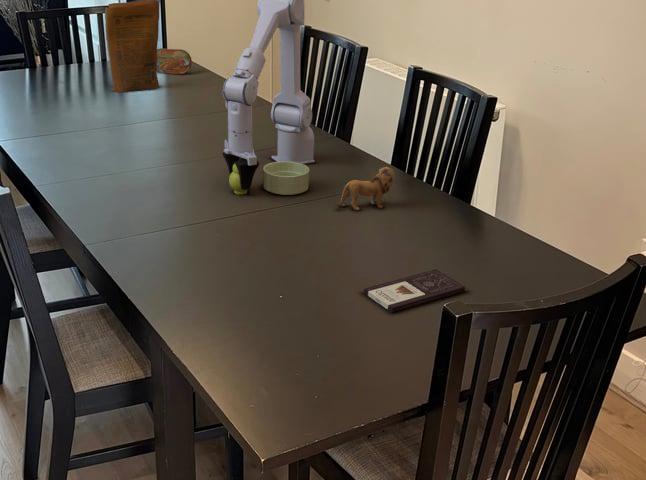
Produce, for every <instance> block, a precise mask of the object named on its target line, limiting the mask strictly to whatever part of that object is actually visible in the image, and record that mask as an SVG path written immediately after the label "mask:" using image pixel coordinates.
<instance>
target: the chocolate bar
mask: <svg viewBox="0 0 646 480" xmlns="http://www.w3.org/2000/svg"><path fill="white" fill-rule="evenodd" d="M465 291H466V286H465V285H463V284H461V283H460V282H458V281H456V280H454V279H453V278H451V277H449V276H448V275H446V274H445V273H443V272H441V271H439V270H438V269H431V270H428V271H424V272H420V273H417V274H412V275H410V276H405V277H402V278H398V279H395V280H391V281H387V282H383V283H379V284H376V285H372V286H369V287H364V289H363V294H365V295H366V296H368V297H369V298H371V299H372V300H373V301H375V302H376V303H378V304H379V305H381V306H382V307H383V308H385V309H386V310H388V311H389V312H390V313H395V312H399V311H402V310H406V309H409V308H412V307H416V306H419V305H423V304H425V303H430V302H433V301H436V300H439V299H443V298H447V297H450V296H453V295H456V294H461V293H464V292H465Z"/></svg>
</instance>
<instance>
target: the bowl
mask: <svg viewBox="0 0 646 480" xmlns="http://www.w3.org/2000/svg"><path fill="white" fill-rule="evenodd" d="M310 172H311V171H310V168H309V166H307V164H301V163H297V162H289V161H280V162H277V161H273V162H268V163H267V164H265V165H264V166H263V167H262V187H263V189H264V190H266V191H267V192H270V193H272V194H276V195H280V196H293V195H299V194H302V193H304V192H306V191H308V190H309V188H310Z"/></svg>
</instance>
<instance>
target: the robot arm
mask: <svg viewBox="0 0 646 480" xmlns="http://www.w3.org/2000/svg"><path fill="white" fill-rule="evenodd" d="M256 8H257V9H256V10H257V16H258V19H257V23H256V24H255V25H256V26H255V29H254V32H253V34H252V37H251V41H250V45H249V47H246V48H244V49H243V50H242V52H241V54H240V57H239V59H238V62H237V63H236V65H235V69H234V70H233V72H232V73H233V74H232V75H231V76H230V77H228V78H226V79H225V81H224V83H223V86H222V91H221V93H222V98H223V100H224V102H225V103H224V104H225V109H226V111H227V137H228V138H227V139H224V149H223V152H222V158H223V159H224V160H225V163H226V167H227V169H228V174H229V176H230V175H231V173H232V172H233V165H234V164H235V165H236V167H237V169H238V172H239V177H240V185H241V189H242V190H247V189H248V190H251V187H252V184H253V179H254V176H255V173H256V171H257V169H258V167H259V166H260V161H258V156H257V155H256V154H255V150H254V147H253V104H254V103H255V101H256V100H257V96H258V88H259V85H260V84H259V78H260V76H261V73H262V72H263V69H264V66H265V63H266V60H267V59H266V57H265V55H264V53H265V52H266V49H267V48H268V45H269V44H270V42H271V41H272V38H273V37H274V34H275V33H276V30H278V29H279V55H280V57H279V60H280V61H279V62H280V64H279V65H280V67H279V68H280V91H279V92H278V93H276V94H275V95H274V97H272V105H271V110H270V119H271V121H272V124H274V125H275V128H276V129H277V153H276V155H271V159H272V160H274V162H280V161H289V162H297V163H301V164H304V165H307V164H313V163H316V161H315V159H314V154H315V134H314V131H313V129H312V128H311V127H310V126H311V123H312V120H313V110H312V106H311V99H310V97H309V96H308V95H307V94H305V93H304V92H303V91H302V90H301V27H302V26H304V25H305V0H257V4H256ZM239 157H241V161H239ZM248 190H247V191H248Z"/></svg>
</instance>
